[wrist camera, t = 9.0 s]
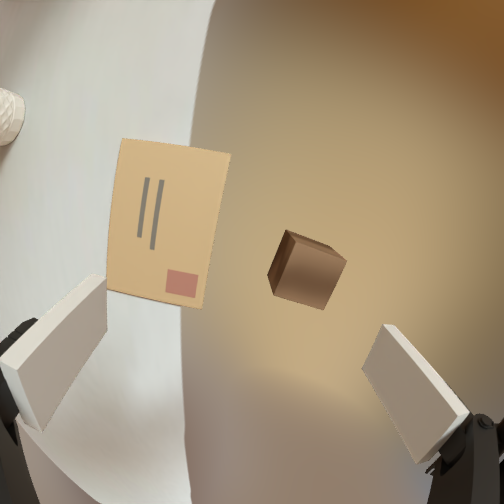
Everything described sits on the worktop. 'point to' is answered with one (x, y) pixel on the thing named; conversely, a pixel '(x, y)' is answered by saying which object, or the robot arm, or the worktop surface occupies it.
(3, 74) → the worktop surface
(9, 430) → the robot arm
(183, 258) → the envelope
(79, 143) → the worktop surface
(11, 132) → the white cup
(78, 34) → the worktop surface
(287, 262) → the walnut block
